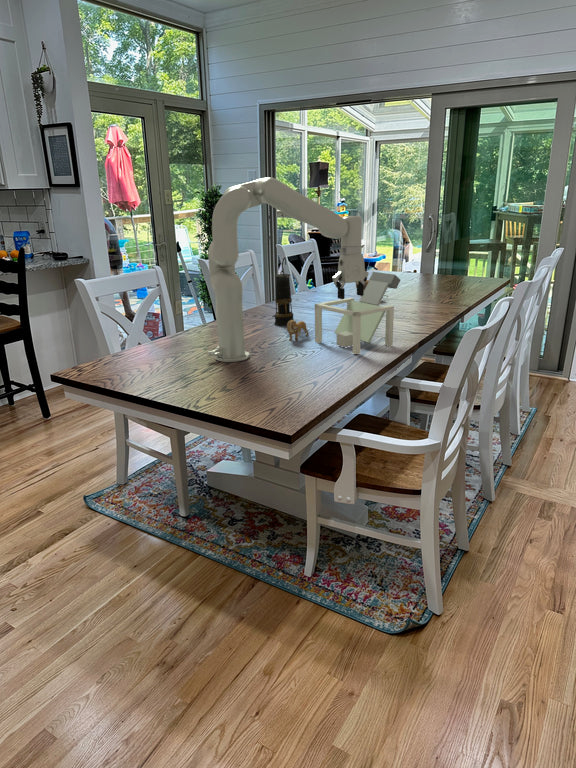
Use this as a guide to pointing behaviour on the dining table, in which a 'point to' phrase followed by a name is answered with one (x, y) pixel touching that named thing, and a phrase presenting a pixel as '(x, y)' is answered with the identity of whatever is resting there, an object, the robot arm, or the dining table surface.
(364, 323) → the trapdoor plate
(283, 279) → the lantern
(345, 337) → the stone block
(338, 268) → the robot arm
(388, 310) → the trapdoor frame
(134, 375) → the dining table surface
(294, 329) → the lion figurine
